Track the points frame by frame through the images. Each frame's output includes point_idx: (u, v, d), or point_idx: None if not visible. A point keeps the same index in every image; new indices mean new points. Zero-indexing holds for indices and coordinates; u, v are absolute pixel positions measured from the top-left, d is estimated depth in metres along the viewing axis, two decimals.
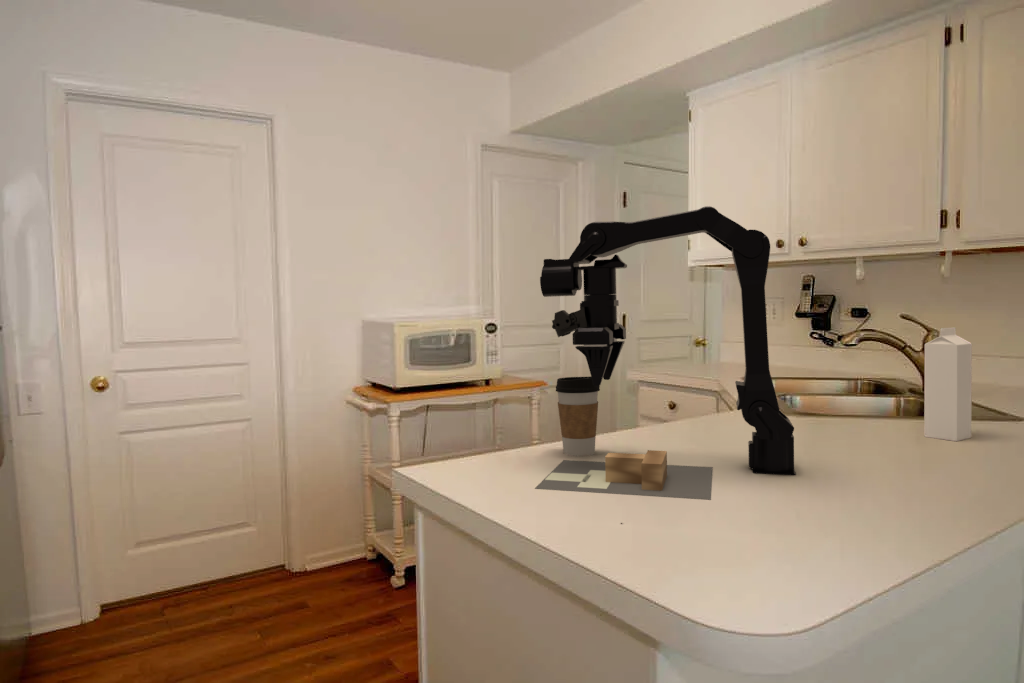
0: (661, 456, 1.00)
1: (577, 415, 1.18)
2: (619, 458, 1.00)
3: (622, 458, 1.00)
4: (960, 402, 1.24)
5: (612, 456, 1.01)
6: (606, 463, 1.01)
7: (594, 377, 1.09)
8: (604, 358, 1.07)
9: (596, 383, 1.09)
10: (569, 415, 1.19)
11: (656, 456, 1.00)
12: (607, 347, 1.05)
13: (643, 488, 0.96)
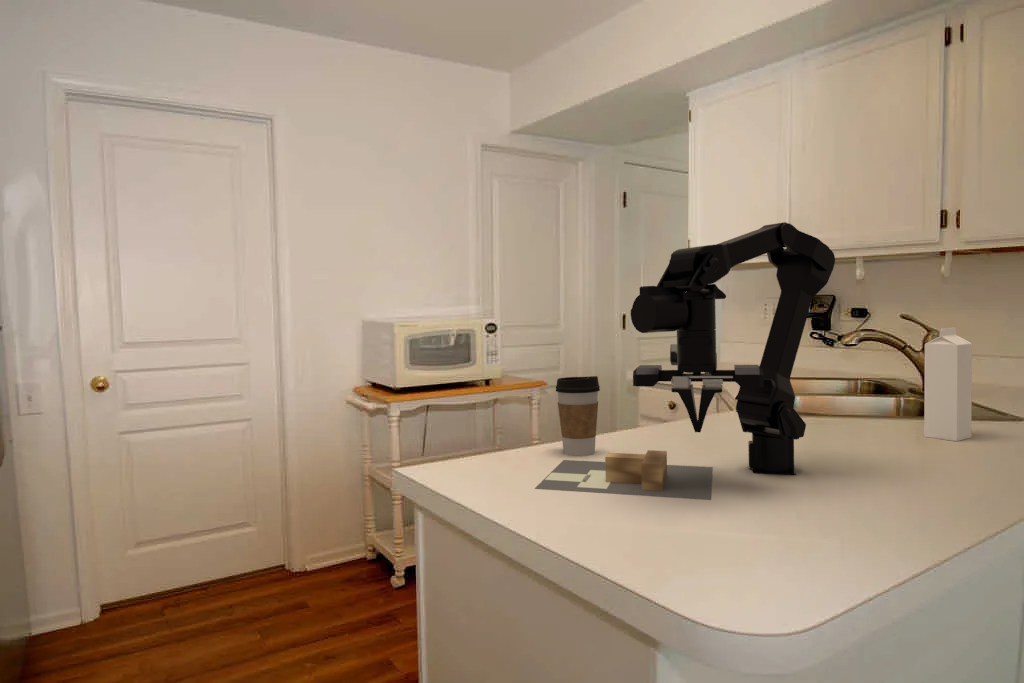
0: (661, 456, 1.00)
1: (577, 415, 1.18)
2: (619, 458, 1.00)
3: (622, 458, 1.00)
4: (960, 402, 1.24)
5: (612, 456, 1.01)
6: (606, 463, 1.01)
7: None
8: None
9: None
10: (569, 415, 1.19)
11: (656, 456, 1.00)
12: (671, 389, 0.96)
13: (643, 488, 0.96)
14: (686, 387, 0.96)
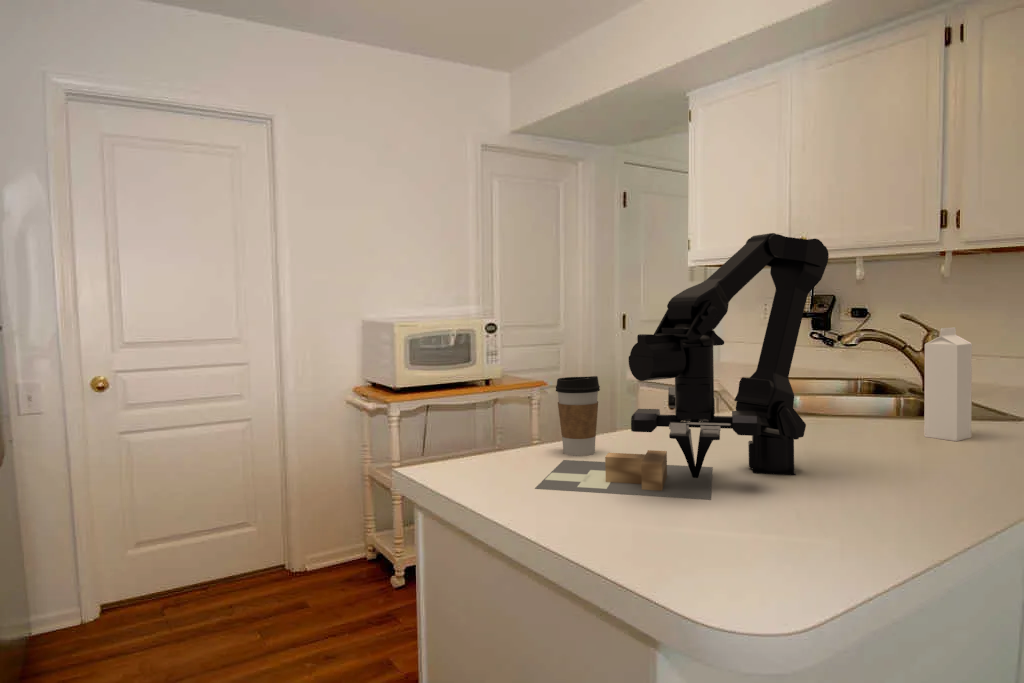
0: (661, 456, 1.00)
1: (577, 415, 1.18)
2: (619, 458, 1.00)
3: (622, 458, 1.00)
4: (960, 402, 1.24)
5: (612, 456, 1.01)
6: (606, 463, 1.01)
7: None
8: None
9: None
10: (569, 415, 1.19)
11: (656, 456, 1.00)
12: (669, 436, 0.97)
13: (643, 488, 0.96)
14: (684, 433, 0.96)
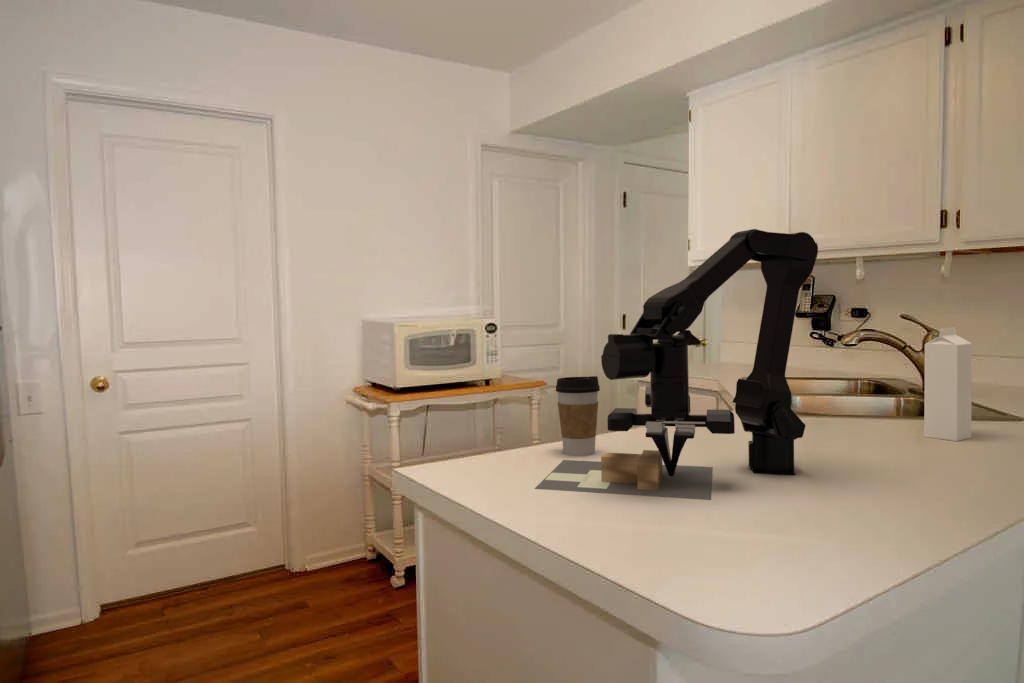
0: (657, 456, 1.00)
1: (577, 415, 1.18)
2: (615, 458, 1.00)
3: (618, 458, 1.00)
4: (960, 402, 1.24)
5: (608, 456, 1.01)
6: (602, 463, 1.01)
7: None
8: None
9: None
10: (569, 415, 1.19)
11: (652, 456, 1.01)
12: (645, 434, 0.98)
13: (639, 488, 0.97)
14: (660, 432, 0.97)
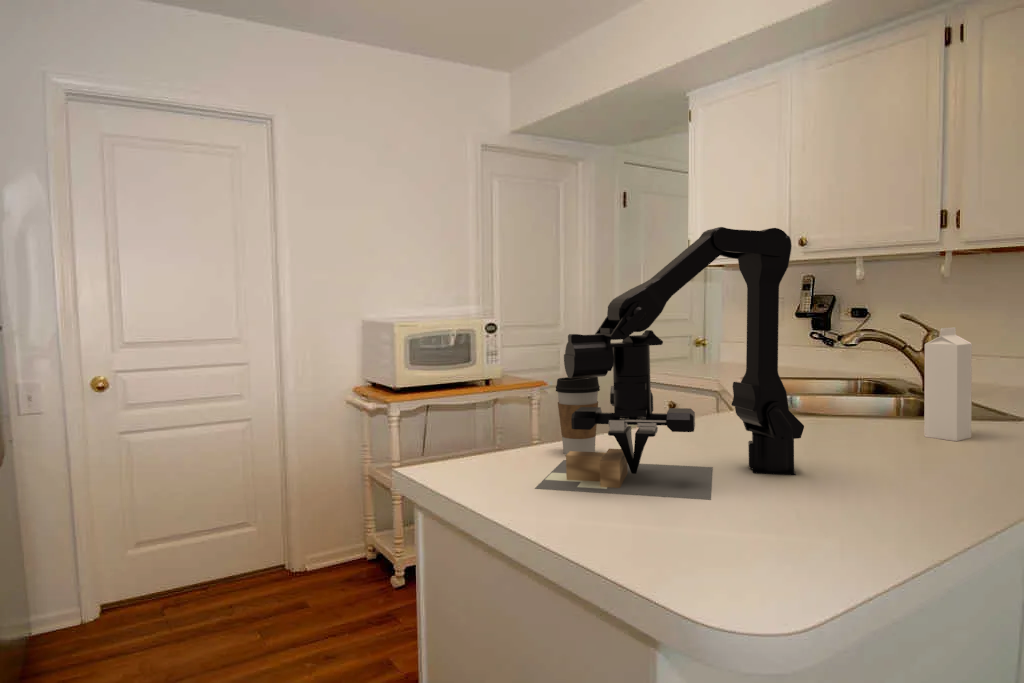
0: (620, 454, 1.02)
1: None
2: (579, 456, 1.02)
3: (582, 456, 1.02)
4: (960, 402, 1.24)
5: (573, 454, 1.03)
6: (567, 461, 1.03)
7: None
8: None
9: None
10: (569, 415, 1.19)
11: (615, 454, 1.02)
12: (608, 433, 0.99)
13: (601, 485, 0.98)
14: (622, 430, 0.99)
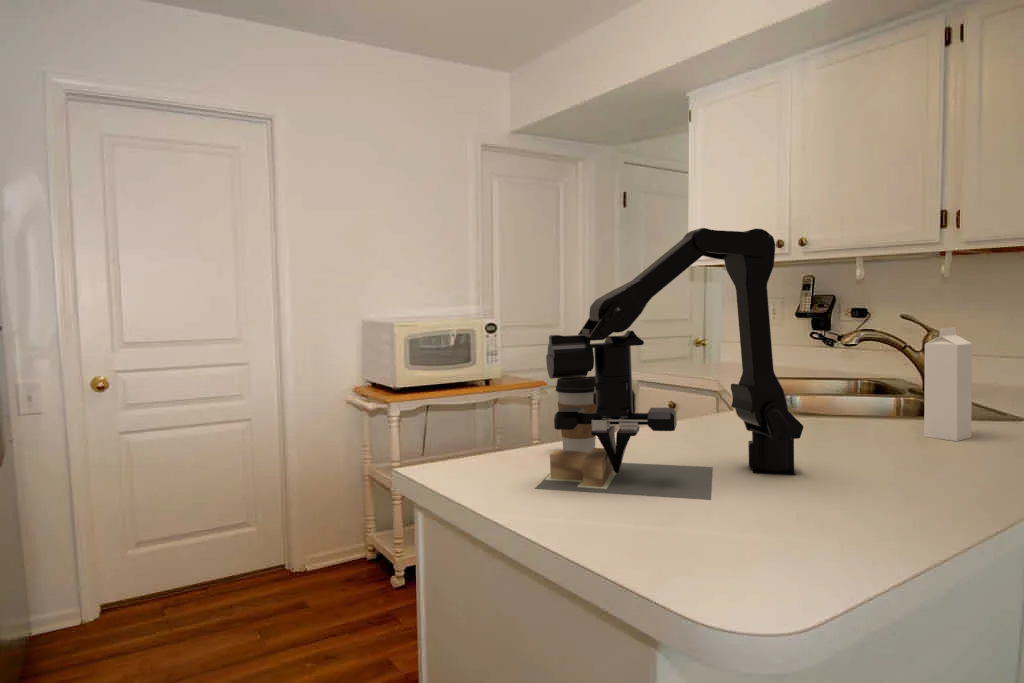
0: (604, 453, 1.03)
1: None
2: (563, 455, 1.03)
3: (566, 455, 1.03)
4: (960, 402, 1.24)
5: (557, 454, 1.04)
6: (551, 460, 1.04)
7: None
8: None
9: None
10: None
11: (599, 453, 1.03)
12: (591, 433, 1.00)
13: (584, 484, 0.99)
14: (604, 430, 1.00)
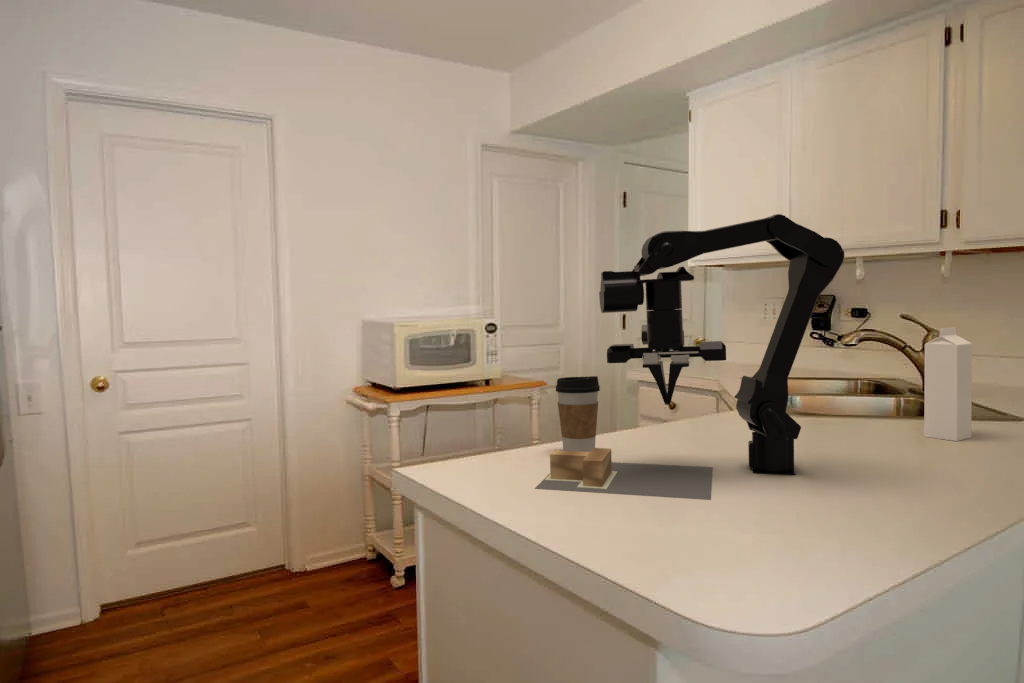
0: (604, 453, 1.03)
1: (577, 415, 1.18)
2: (563, 455, 1.03)
3: (566, 455, 1.03)
4: (960, 402, 1.24)
5: (557, 454, 1.04)
6: (551, 460, 1.04)
7: None
8: None
9: None
10: (569, 415, 1.19)
11: (599, 453, 1.03)
12: (642, 365, 1.04)
13: (584, 484, 0.99)
14: (656, 363, 1.04)
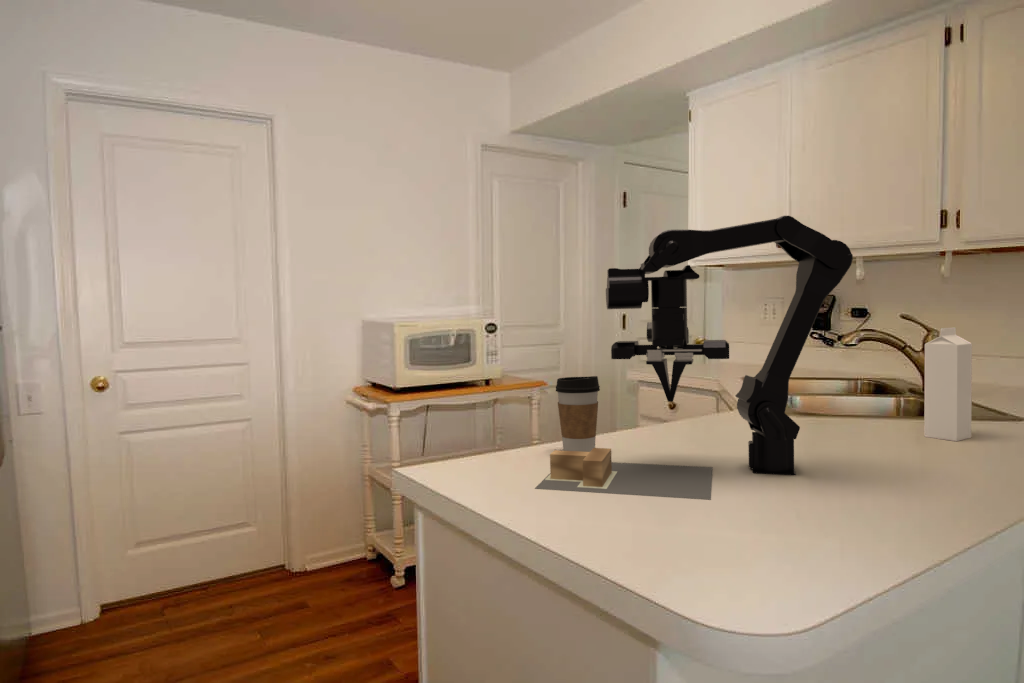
0: (604, 453, 1.03)
1: (577, 415, 1.18)
2: (563, 455, 1.03)
3: (566, 455, 1.03)
4: (960, 402, 1.24)
5: (557, 454, 1.04)
6: (551, 460, 1.04)
7: None
8: None
9: (667, 398, 1.07)
10: (569, 415, 1.19)
11: (599, 453, 1.03)
12: (646, 362, 1.05)
13: (584, 484, 0.99)
14: (659, 360, 1.05)
